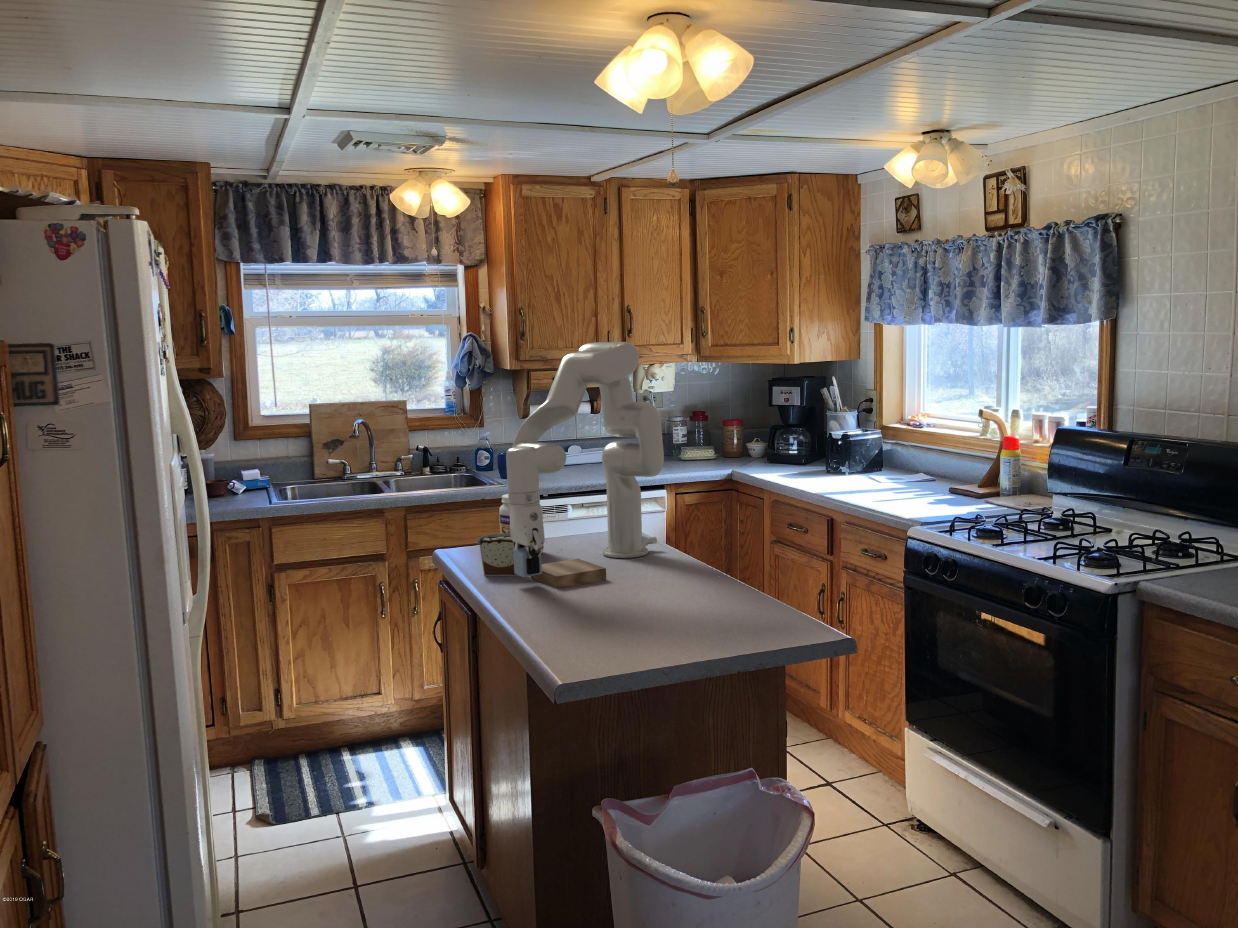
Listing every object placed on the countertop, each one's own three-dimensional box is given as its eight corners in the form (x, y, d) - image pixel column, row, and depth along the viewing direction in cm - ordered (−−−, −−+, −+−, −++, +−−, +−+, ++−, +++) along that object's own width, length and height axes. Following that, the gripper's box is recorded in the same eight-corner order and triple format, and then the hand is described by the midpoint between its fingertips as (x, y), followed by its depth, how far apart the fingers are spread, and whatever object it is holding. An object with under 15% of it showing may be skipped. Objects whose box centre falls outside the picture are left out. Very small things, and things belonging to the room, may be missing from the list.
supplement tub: (493, 558, 276) (491, 498, 274) (511, 549, 287) (508, 491, 285) (534, 559, 272) (532, 499, 270) (550, 550, 284) (548, 492, 282)
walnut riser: (578, 569, 258) (578, 558, 258) (606, 579, 247) (606, 568, 246) (530, 577, 251) (530, 566, 251) (556, 588, 239) (556, 576, 239)
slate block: (532, 569, 245) (531, 546, 245) (542, 573, 241) (540, 549, 240) (514, 573, 243) (513, 549, 242) (523, 577, 239) (522, 552, 238)
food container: (530, 570, 260) (528, 532, 258) (525, 575, 254) (524, 537, 252) (484, 570, 261) (482, 532, 260) (478, 575, 255) (476, 537, 254)
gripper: (554, 500, 234) (558, 575, 237) (522, 491, 249) (526, 562, 251) (525, 504, 230) (530, 580, 233) (495, 495, 245) (499, 567, 247)
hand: (528, 570), depth 242 cm, fingers closed on slate block, 5 cm apart
